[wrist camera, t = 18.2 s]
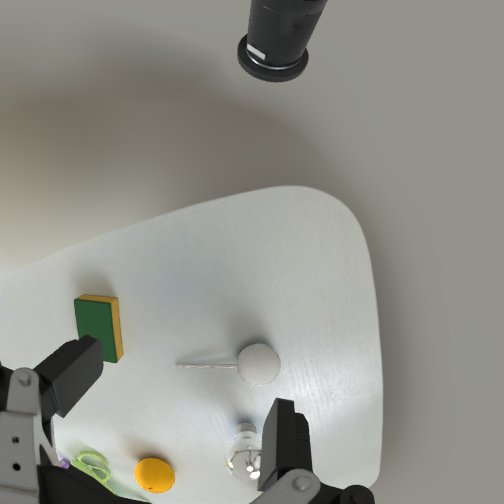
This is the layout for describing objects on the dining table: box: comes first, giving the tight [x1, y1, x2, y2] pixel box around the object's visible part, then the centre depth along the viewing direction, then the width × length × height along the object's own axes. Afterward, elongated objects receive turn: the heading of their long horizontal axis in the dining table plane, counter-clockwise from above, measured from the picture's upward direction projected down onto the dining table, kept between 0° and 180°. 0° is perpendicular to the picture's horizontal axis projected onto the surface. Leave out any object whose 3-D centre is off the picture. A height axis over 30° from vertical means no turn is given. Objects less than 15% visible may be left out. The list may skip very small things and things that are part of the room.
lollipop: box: [176, 343, 281, 386], centre depth 35 cm, size 6×6×15 cm
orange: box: [134, 458, 175, 493], centre depth 34 cm, size 8×8×8 cm
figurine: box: [59, 451, 118, 496], centre depth 35 cm, size 18×27×6 cm
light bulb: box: [224, 423, 262, 481], centre depth 32 cm, size 7×7×12 cm
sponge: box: [74, 295, 123, 363], centre depth 33 cm, size 9×6×3 cm, turn 177°
